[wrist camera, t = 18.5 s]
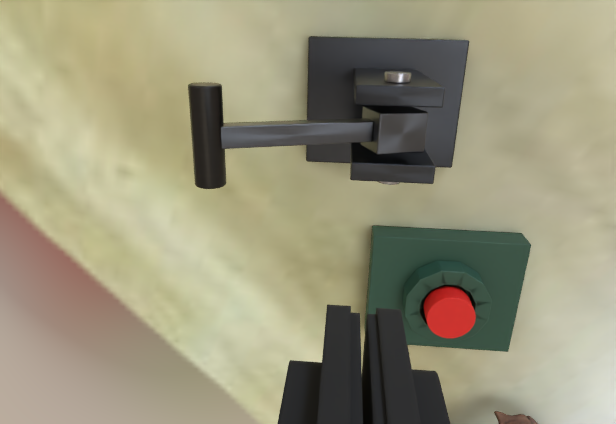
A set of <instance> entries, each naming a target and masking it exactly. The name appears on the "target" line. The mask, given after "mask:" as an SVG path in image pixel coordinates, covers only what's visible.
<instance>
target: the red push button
mask: <svg viewBox="0 0 616 424" xmlns="http://www.w3.org/2000/svg"><path fill="white" fill-rule="evenodd" d="M423 308H424V313H425V317H426V321H427V325H428V327H429V328H430V330H431V331H432V332H433V333H434V334H436V335H438V336H440V337H443V338H457V337H460V336H463V335H464V334H466V333H467V332H469V331H470V330H471V328H472V327H473V325H474V323H475V319H476V314H475V311H474V308H473V306H472V304H471V301H470V299H469V297H468V295H467V294H466V293H465V292H464V291H462V290H461V289H459V288H456V287H452V286H444V287H440V288H437V289H435V290H433V291H432V292H431V293H430V294H429V295H428V296H427V297H426V299H425V301H424V307H423Z"/></svg>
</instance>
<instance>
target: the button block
mask: <svg viewBox="0 0 616 424" xmlns="http://www.w3.org/2000/svg"><path fill="white" fill-rule="evenodd" d="M530 248H531V244H530V243H529V242H528V240H527V239H526V238H525V237H524V236H523V234H522V233H505V232H486V231H467V230H448V229H429V228H410V227H391V226H372V238H371V251H370V264H369V277H368V289H367V302H366V315H365V329H366V317H367V314H376V308H385V309H400V310H401V313H402V318H403V324H404V330H405V335H406V341H407V345H421V346H435V347H449V348H463V349H478V350H492V351H506V352H508V349H509V345H510V340H511V336H512V331H513V326H514V322H515V317H516V312H517V308H518V303H519V299H520V294H521V289H522V285H523V280H524V275H525V271H526V266H527V262H528V257H529V252H530ZM444 286H452V287H456V288H459V289H461V290H462V291H464V292H465V293H466V294H467V295H468V297H469V299H470V301H471V304H472V306H473V308H474V311H475V314H476V319H475V323H474V325H473V327H472V328H471V330H470V331H469V332H467V333H466V334H464V335H463V336H460V337H457V338H443V337H440V336H438V335H436V334H434V333H433V332H432V331H431V330H430V328H429V327H428V325H427V321H426V317H425V313H424V308H423V307H424V301H425V299H426V297H427V296H428V295H429V294H430V293H431V292H432V291H433V290H435V289H437V288H440V287H444Z"/></svg>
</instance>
